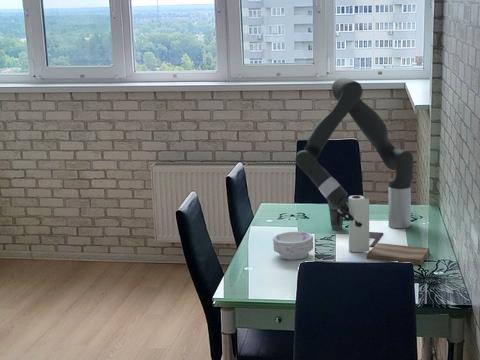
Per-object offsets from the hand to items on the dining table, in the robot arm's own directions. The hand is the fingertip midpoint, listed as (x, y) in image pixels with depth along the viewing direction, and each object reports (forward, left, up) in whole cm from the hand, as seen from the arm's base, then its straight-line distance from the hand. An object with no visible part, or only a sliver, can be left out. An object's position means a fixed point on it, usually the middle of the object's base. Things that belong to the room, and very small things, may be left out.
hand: (362, 225), depth 269 cm
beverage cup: (-26, -20, -11) cm, 34 cm away
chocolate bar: (-15, -3, -11) cm, 19 cm away
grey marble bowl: (+14, -23, -11) cm, 29 cm away
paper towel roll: (0, -2, -11) cm, 11 cm away
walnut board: (+1, +14, -11) cm, 18 cm away
